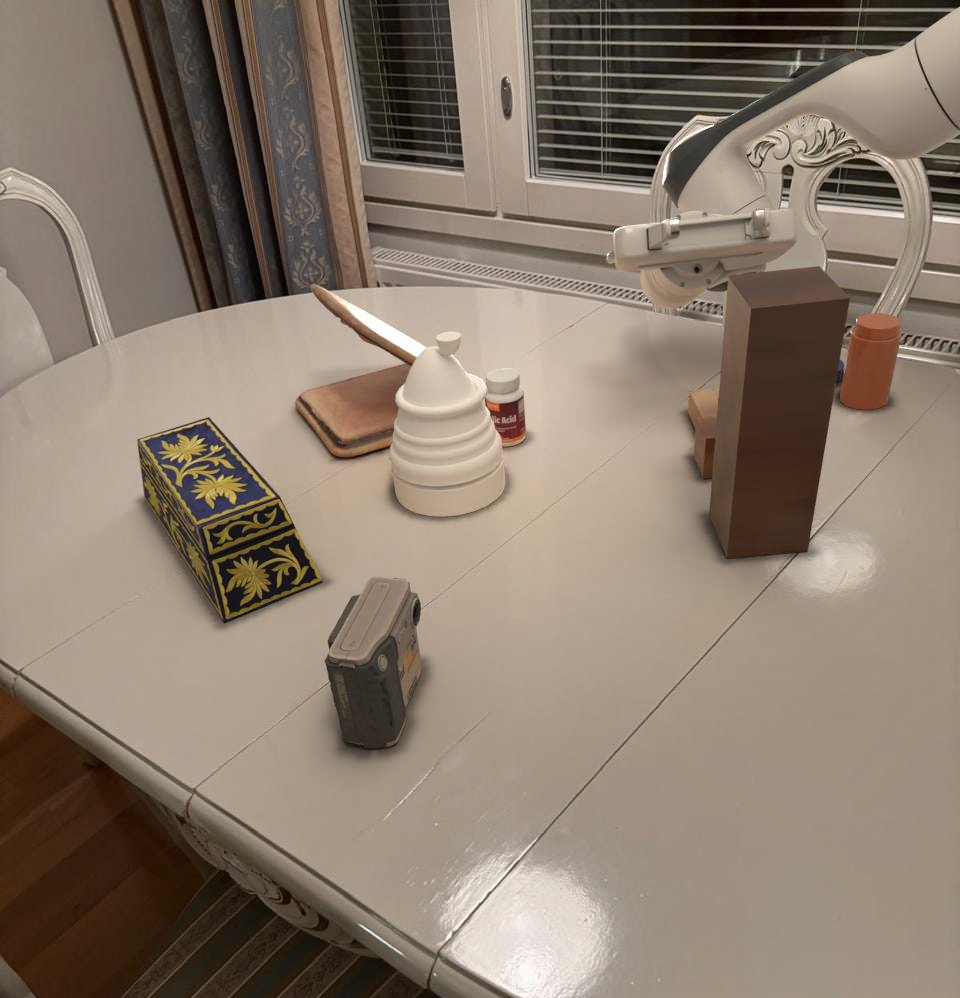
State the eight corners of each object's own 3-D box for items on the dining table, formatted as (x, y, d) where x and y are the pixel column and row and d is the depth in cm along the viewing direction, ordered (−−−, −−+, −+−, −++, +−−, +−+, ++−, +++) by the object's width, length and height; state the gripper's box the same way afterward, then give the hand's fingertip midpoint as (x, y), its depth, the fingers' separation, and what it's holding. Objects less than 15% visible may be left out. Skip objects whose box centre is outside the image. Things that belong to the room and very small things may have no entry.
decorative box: (224, 623, 90) (197, 547, 84) (144, 498, 111) (119, 431, 105) (323, 582, 94) (305, 507, 88) (229, 469, 114) (208, 403, 109)
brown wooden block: (676, 414, 115) (677, 376, 111) (724, 409, 114) (727, 371, 111) (702, 478, 102) (705, 438, 99) (756, 474, 102) (761, 433, 99)
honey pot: (520, 464, 109) (509, 314, 97) (483, 522, 100) (467, 364, 88) (421, 454, 113) (399, 309, 101) (377, 509, 104) (348, 357, 92)
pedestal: (708, 515, 97) (728, 275, 81) (785, 508, 96) (819, 265, 80) (726, 559, 90) (751, 307, 74) (808, 551, 90) (850, 297, 74)
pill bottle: (484, 447, 113) (478, 382, 107) (493, 428, 116) (487, 365, 111) (522, 448, 112) (517, 383, 106) (529, 429, 115) (525, 366, 110)
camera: (395, 756, 74) (374, 664, 68) (330, 746, 76) (304, 655, 69) (437, 663, 82) (423, 574, 76) (378, 656, 84) (359, 568, 78)
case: (490, 419, 118) (479, 294, 108) (338, 465, 112) (310, 338, 102) (429, 366, 133) (414, 252, 123) (291, 404, 127) (263, 288, 117)
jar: (896, 397, 113) (913, 317, 106) (872, 414, 110) (888, 333, 104) (854, 385, 116) (868, 308, 110) (830, 401, 113) (843, 323, 107)
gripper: (602, 235, 109) (616, 200, 96) (773, 216, 109) (813, 178, 95) (605, 290, 111) (620, 263, 97) (776, 272, 110) (815, 242, 96)
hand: (717, 221), depth 96 cm, fingers open, 8 cm apart
